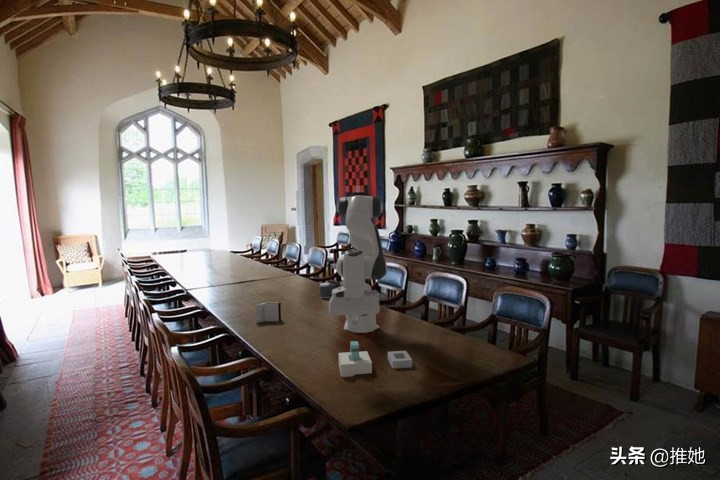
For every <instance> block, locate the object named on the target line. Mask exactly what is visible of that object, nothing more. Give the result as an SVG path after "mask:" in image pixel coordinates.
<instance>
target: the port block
mask: <svg viewBox="0 0 720 480" xmlns="http://www.w3.org/2000/svg"><path fill="white" fill-rule="evenodd" d="M338 368H339V373H340V376H341V377H340V378H349V377H355V375H363V374H367V375H368V374H373V362H372V360H371V357H370V355H369V353H368V351H367V350H366V351H359V360H356V361H350V351H349V352H348V351H347V352H346V351H345V352H338Z"/></svg>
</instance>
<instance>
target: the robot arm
mask: <svg viewBox="0 0 720 480" xmlns="http://www.w3.org/2000/svg"><path fill="white" fill-rule="evenodd" d="M336 210H337V213H338V215H339V217H341V218H342V219H345V228H346V230H348V232H349V234H350V238H349V241H350V242H349V243H350V246H352V248H354V249H352V248H351V249H348V250H346V251H345V252H344V253H343V256H340V257H339V259H338V260H337V261H336V264H335V265H336V266H335V267H336V268H335V269H336V271H337V273H338V275H340V276H341V277H342V278H343V281H342V285H341V286H340V287H339V288H336V289H333V290H332V296H330V298H329V303H328V314H329V315H330V316H331V317H332V316H333V317H335V316H345V319H346V320H345V322H344V326H343V330H344V331H349V332H351V333H356V334H357V333H358V334H361V333H362V334H365V333H366V334H367V333H370V332H374V331H375V330H378V329H379V328H380V326H379V324H377V319H376V318H377V317H376V315H377V314H379V313H380V311H381V307H380V306H381V305H380V301H381V300H380V299H381V294H380V292H379V291H377V290H375V289H373V288H372V287H371V285H370V284H368V283H366V281H365V280H374V281H375V280H377V281H380V280H381V279H383V278H385V277H386V276H387V272H388V265H387V261H386V259H385V254H384V250H383V245H382V242H381V241H382V240H381V235H380V232H379V229H378V227H377V225H376V224H375V223H373V222H372V218H373V220H375V219H377V218H379V217H380V216H381V215H382V212H383V210H384V206H383V202H382V199H381V197H379V196H376V195H373V196H369V195H360V194H359V195H354V196H353V195H352V196H342V197H340V198H339V199H338V202H337V204H336ZM372 289H373V290H372Z"/></svg>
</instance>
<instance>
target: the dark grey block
mask: <svg viewBox="0 0 720 480" xmlns="http://www.w3.org/2000/svg"><path fill="white" fill-rule="evenodd" d="M339 287H341V286H340V281H337V280H333V279H329V280H328V282H321V283H320V284H319V287H318V290H319V297H320V299H322V298H325V299H326V298H327V299H330V298H331V297H332V290H333V289H336V288H339ZM325 299H324V300H325Z"/></svg>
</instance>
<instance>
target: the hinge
mask: <svg viewBox="0 0 720 480" xmlns="http://www.w3.org/2000/svg"><path fill="white" fill-rule="evenodd" d="M281 303H282V302H278V301H277V302H275V301H274V302H261V303H259V304H254V306H255V324H258V323H263V322H281V320H282V311H281V309H282V308H281V306H282V305H281Z"/></svg>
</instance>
